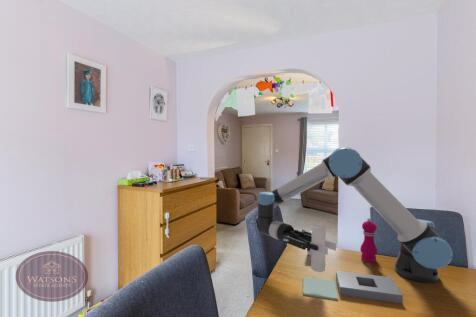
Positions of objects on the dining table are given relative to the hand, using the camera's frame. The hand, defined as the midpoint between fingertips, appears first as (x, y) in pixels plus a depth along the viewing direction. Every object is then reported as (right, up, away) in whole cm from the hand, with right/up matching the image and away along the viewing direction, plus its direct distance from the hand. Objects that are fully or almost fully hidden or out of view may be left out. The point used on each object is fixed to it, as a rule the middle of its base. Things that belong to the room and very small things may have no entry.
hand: (331, 248), depth 88 cm
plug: (-3, -9, +5) cm, 11 cm away
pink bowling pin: (+29, -16, +28) cm, 43 cm away
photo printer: (+6, -16, +35) cm, 39 cm away
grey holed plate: (+15, -17, +3) cm, 22 cm away
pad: (-3, -17, +5) cm, 18 cm away
